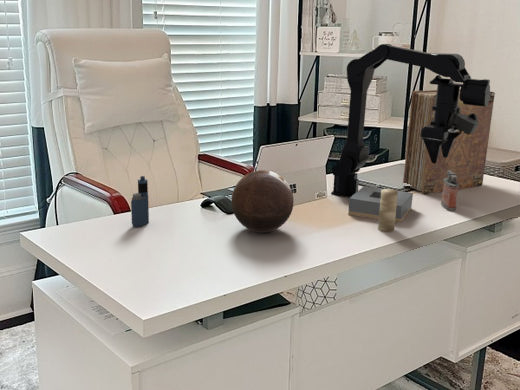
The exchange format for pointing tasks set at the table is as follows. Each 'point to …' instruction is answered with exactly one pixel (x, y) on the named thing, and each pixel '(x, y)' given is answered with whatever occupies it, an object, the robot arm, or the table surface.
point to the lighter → (450, 192)
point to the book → (460, 156)
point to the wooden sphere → (262, 201)
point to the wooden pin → (387, 210)
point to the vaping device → (140, 204)
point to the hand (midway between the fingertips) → (439, 160)
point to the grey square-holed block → (377, 203)
